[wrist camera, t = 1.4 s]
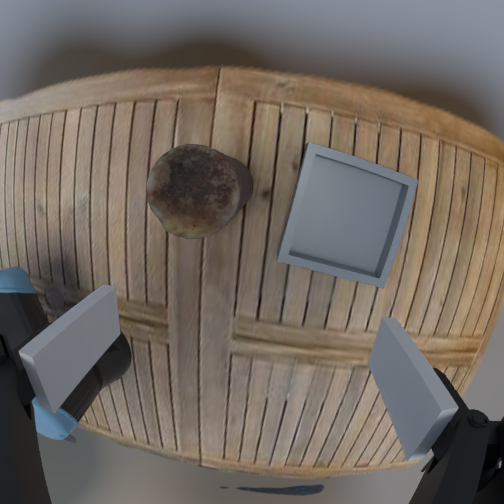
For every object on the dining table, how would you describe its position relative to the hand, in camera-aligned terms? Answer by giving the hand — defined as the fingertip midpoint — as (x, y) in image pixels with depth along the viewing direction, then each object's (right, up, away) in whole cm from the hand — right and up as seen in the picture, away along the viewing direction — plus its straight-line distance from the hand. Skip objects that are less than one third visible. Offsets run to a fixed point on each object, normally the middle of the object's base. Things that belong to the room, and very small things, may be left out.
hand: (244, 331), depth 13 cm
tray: (+13, +9, +26) cm, 31 cm away
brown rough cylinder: (-3, +13, +26) cm, 30 cm away
